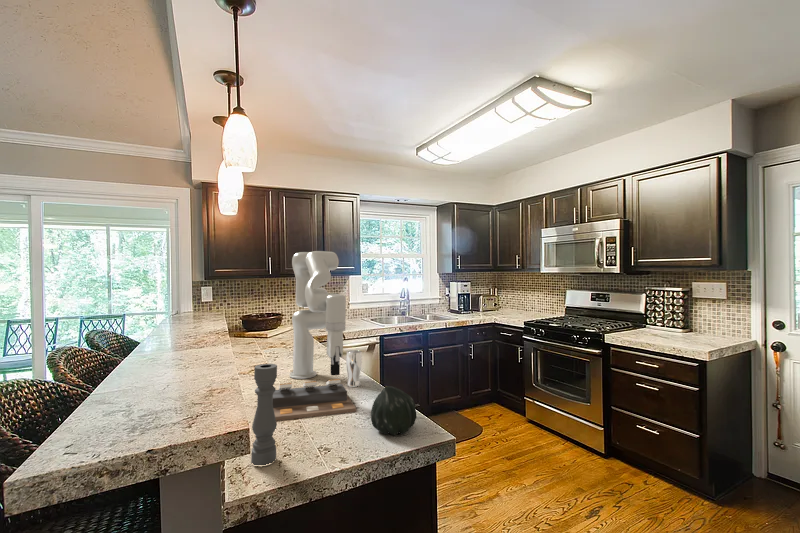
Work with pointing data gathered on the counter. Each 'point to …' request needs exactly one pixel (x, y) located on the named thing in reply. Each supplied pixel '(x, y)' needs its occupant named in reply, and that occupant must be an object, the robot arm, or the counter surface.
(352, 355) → the beige tall curved piece
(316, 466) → the counter surface
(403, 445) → the counter surface
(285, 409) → the switch unit
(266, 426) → the candle holder
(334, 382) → the block
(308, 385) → the block
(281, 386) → the plate
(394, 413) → the squash
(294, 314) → the robot arm
